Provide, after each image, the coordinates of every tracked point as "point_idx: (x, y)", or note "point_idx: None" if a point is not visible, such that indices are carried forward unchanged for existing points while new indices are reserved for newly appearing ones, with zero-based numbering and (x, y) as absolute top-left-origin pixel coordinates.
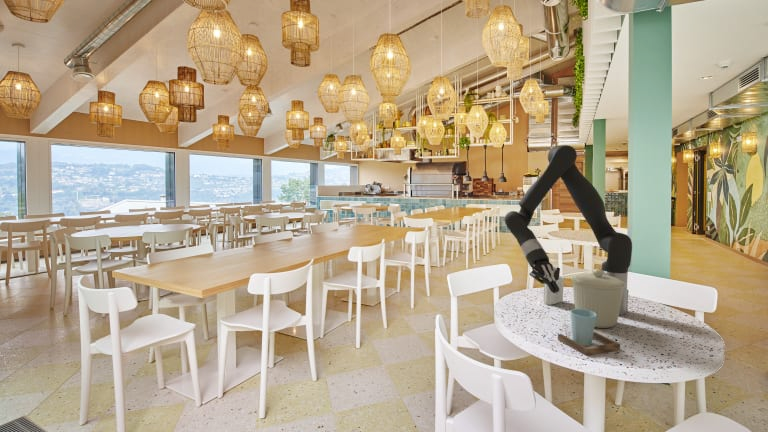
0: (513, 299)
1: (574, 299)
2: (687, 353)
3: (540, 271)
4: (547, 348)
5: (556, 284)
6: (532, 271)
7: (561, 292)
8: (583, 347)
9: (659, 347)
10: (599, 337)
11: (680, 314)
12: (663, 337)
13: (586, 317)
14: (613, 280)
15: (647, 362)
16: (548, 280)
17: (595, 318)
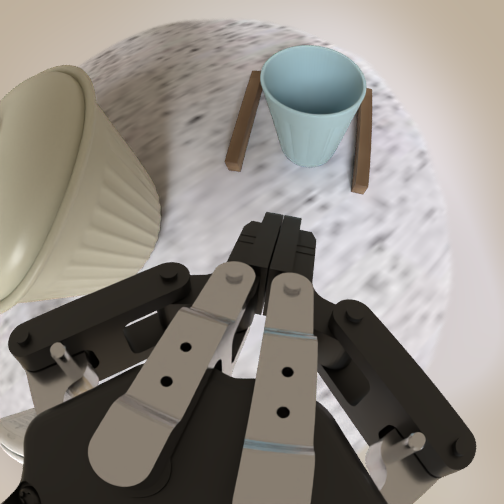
0: None
1: (100, 275)
2: (152, 46)
3: (346, 445)
4: (432, 174)
5: (239, 250)
6: (472, 449)
7: (34, 410)
8: (370, 97)
9: (160, 68)
10: (250, 119)
11: None
12: (97, 101)
13: (342, 55)
14: (5, 101)
15: (264, 39)
16: (312, 299)
17: (297, 53)
